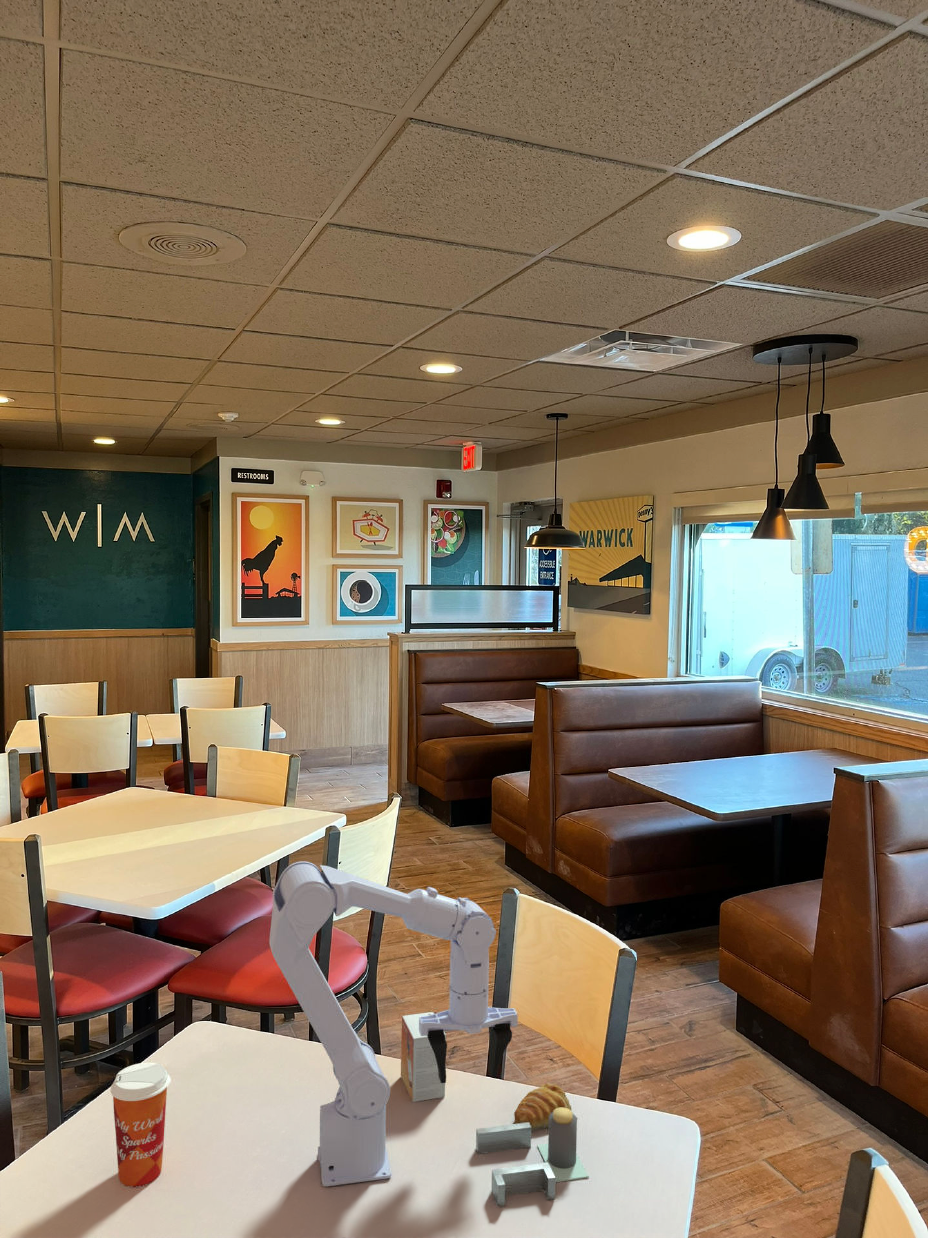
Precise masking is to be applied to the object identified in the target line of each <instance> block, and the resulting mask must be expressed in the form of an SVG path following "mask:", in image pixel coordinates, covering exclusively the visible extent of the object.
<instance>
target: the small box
mask: <svg viewBox="0 0 928 1238" xmlns="http://www.w3.org/2000/svg"><path fill="white" fill-rule="evenodd" d="M432 1014H435V1013H434V1012H433V1011H430V1012H421V1013H414V1014H407V1015H406V1014H405V1015H402V1016H401V1038H400V1039H401V1045H400V1047H401V1048H400V1049H401V1050H400V1077H401V1079H402V1081H403V1084H404V1085H405V1088H406V1090H407V1093H408V1095H409V1098H410V1099H411V1102H412V1103H417V1102H423V1101H429V1100H435V1099H441V1098H445V1096H446V1083H441V1082H440V1079H439V1075H438V1067H437V1062H436V1058H435V1054H434V1052H433V1049H432V1047H431V1045H430V1042H429V1040H428V1037H427V1036H421V1035H420V1032H419V1017H423V1016H429V1015H432ZM445 1032H446V1031H445ZM445 1032H444V1034H445V1040H446V1041H447V1033H445Z"/></svg>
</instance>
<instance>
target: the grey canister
mask: <svg viewBox="0 0 928 1238" xmlns="http://www.w3.org/2000/svg"><path fill="white" fill-rule="evenodd" d="M577 1127H578V1118H577V1117H576V1115H575V1114H574V1113H573V1111H572V1109H571V1110H570V1109H567V1108H563V1107H560V1108H556V1109H555V1110H554V1111H553V1112H552V1113H551V1114H550V1115H549V1127H548V1139H547V1140H548V1143H547V1144H548V1161H549V1162H550V1164H552V1165H553V1166H555V1167H557V1168H562V1169H566V1168H570V1167H572V1166H574V1165H575V1163H576V1154H577V1135H578V1134H577V1132H578V1128H577Z"/></svg>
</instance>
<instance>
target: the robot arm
mask: <svg viewBox="0 0 928 1238" xmlns="http://www.w3.org/2000/svg"><path fill="white" fill-rule="evenodd" d="M319 867H320V868H321V870H320V868H319ZM319 867H318V866H317V865H316V864H314V863H312V862H310V861H304V860H303V861H301V860H300V861H297V862H294V863H293V862H292V863H291V864H289V865H288V866H287V867H286V868H285V869H284V870H283V871H282V873H281V874H280V876H279V878H278V880H277V882H276V885H275V887H274V889H273V891H272V910H271V911H272V912H271V913H272V914H271V923H270V931H269V942H268V943H269V947H270V951H271V953H272V956H273V958H274V960H275V962H276V964H277V966H278V967H279V970H280V971H281V973H282V975H283V977H284V978H285V980H286V982H287V984H288V986H289V988H290V989H291V991H292V993H293V995H294V996H295V998H296V1000H297V1002H298V1004H299V1005H300V1007H301V1009H302V1011H303V1013H304V1014H305V1016H306V1018H307V1020H308V1021H309V1023H310V1025H311V1027H312V1028H313V1030H314V1032H315V1034H316V1036H317V1038H318V1039H319V1041H320V1043H321V1044H322V1046H323V1048H324V1050H325V1051H326V1054H327V1056H328V1057H329V1060H330V1061H331V1064H332V1071H333V1075H334V1077H335V1079H336V1080H337V1082H338V1085H339V1087H338V1089H337V1092H336V1095H335V1097H334V1100H332V1101H331V1102H327V1103H325V1104H322V1105H320V1106H319V1107H320V1108H319V1145H318V1146H317V1160H318V1161H317V1162H319V1165H320V1172H321V1173H320V1176H321V1185H322V1186H323V1187H332V1186H339V1185H340V1186H341V1185H347V1184H355V1183H361V1182H371V1181H377V1180H386V1179H390V1178H392V1171H391V1165H390V1160H389V1156H388V1151H387V1146H386V1139H387V1138H386V1134H387V1133H386V1127H387V1125H386V1124H387V1120H386V1119H387V1118H386V1117H387V1103H388V1102H389V1099H390V1096H391V1088H390V1087H391V1086H390V1084H389V1081H388V1079H387V1077H386V1076H385V1074H384V1073H383V1071H382V1068H381V1066H380V1065H379V1063H378V1061H377V1059H376V1053H375V1051H374V1050H373V1048H372V1047H371V1046H370V1045H369V1044H368V1043H366V1042H365V1041H363V1040H361V1039H360V1037H359V1035H358V1034H357V1032H356V1031H355V1030H354V1028H353V1026H352V1024H351V1023H350V1021H349V1019H348V1018H347V1016H346V1014H345V1012H344V1010H343V1009H342V1006H341V1005H340V1003H339V1001H338V999H337V998H336V995H335V993H334V992H333V989H332V988H331V986H330V985H329V982H328V981H327V979H326V976H325V975H324V973H323V972H322V970H321V968H320V966H319V964H318V962H317V960H316V959H315V957H314V955H313V953H312V951H311V950H310V946H311V943H312V941H313V938H314V936H315V935H316V934H317V933H318V932H319V930H320V929H321V928H322V927H323V926H324V924H325V923H326V922H327V921H328V920H329V918H330V917H331V916H332V913H334V915H335V916H336V917H340V916H341V915H343V914H344V913H345V912H346V911H348V910H349V909H351V908H353V907H355V908H359V909H363V910H368V911H373V912H377V913H380V914H384V915H389V916H393V917H397V918H401V919H402V921H403V924H404V926H405V927H406V929H408V930H411V931H413V932H418V933H421V934H424V935H428V936H431V937H435V938H439V939H442V940H445V941H450V954H449V996H448V997H449V1003H448V1004H449V1005H448V1006H449V1008H448V1009H447V1010H443V1011H440V1012H437V1013H434V1014H432V1015H429V1016H423V1017H419V1032H420V1035H421V1036H427V1037H428V1040H429V1042H430V1045H431V1047H432V1049H433V1052H434V1054H435V1058H436V1062H437V1067H438V1075H439V1079H440V1082H441V1083H445V1084H446V1082H447V1067H446V1065H447V1064H446V1063H447V1062H446V1061H447V1050H448V1049H447V1048H448V1043H447V1039H446V1040H445V1034H446V1033H445V1034H444V1032H452V1031H453V1032H454V1031H463V1032H466V1033H467V1034H469V1035H471V1034H480V1033H481V1032H482V1029H485V1028H488V1035H489V1048H488V1049H489V1051H488V1071H489V1074H490V1076H491V1078H497V1077H498V1071H499V1068H500V1065H501V1061H502V1059H503V1055H504V1053H505V1051H506V1049H507V1048H508V1045H509V1044H510V1042H512V1038H513V1031H512V1028H517V1027H518V1019H519V1016H518V1013H517V1010H516V1009H515V1008H514V1007H513V1008H503V1007H502V1008H501V1007H492V1006H491V1007H489V982H490V981H489V971H490V968H489V967H490V965H489V964H490V955H489V953H490V951H489V950H490V947H491V945H492V944H493V942H494V941H495V938H496V934H497V929H495V927H494V922H493V920H492V918H491V917H490V915H488V913H487V912H486V911H484V909H482V908H481V907H480V905H478V904H477V902H474V901H473V900H470V899H469V898H468V897H460V896H459V897H457V898H455V899H454V898H451V897H448V896H445V895H442V894H439V892H438V890H437V889H436V888H434V887H432V886H427V887H426V890H425V889H422V888H416V889H414V890H412V891H411V892H409V893H405V892H402V891H400V890H397V889H393V888H390V887H387V886H386V885H382V884H379V883H377V882H374V881H371V880H368V879H365V878H362V877H359V876H358V875H355V874H351V873H348V872H345V871H343V870H340V869H338V868H334V867H331V866H328V865H323V864H320V865H319ZM322 871H323V872H322Z"/></svg>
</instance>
